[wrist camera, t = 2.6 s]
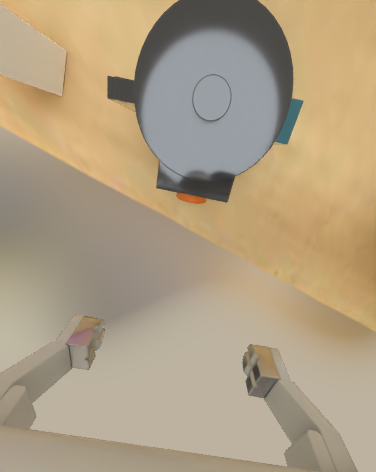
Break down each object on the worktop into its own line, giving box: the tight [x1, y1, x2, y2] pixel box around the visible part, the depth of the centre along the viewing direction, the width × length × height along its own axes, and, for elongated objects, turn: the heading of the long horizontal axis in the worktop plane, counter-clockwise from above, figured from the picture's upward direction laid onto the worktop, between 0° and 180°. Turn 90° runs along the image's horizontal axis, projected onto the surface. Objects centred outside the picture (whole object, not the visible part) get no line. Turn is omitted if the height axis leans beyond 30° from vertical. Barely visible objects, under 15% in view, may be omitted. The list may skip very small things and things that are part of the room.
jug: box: [108, 0, 303, 202], centre depth 22 cm, size 13×16×20 cm
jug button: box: [177, 192, 206, 204], centre depth 22 cm, size 2×3×3 cm, turn 79°
